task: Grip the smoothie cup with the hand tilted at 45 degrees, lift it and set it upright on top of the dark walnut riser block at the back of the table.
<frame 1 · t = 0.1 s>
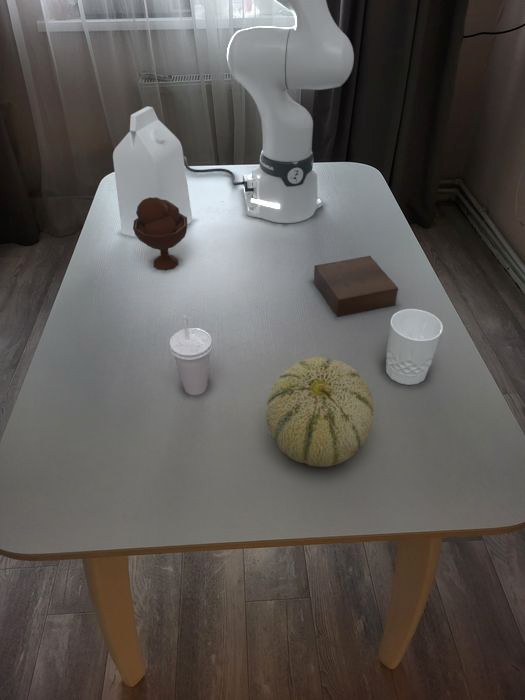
smoothie: (195, 387, 90), on the table
milk: (158, 227, 129), on the table
white cup: (405, 372, 92), on the table
ice cream bowl: (166, 264, 117), on the table
cantaloupe: (315, 446, 81), on the table
riser: (353, 293, 109), on the table
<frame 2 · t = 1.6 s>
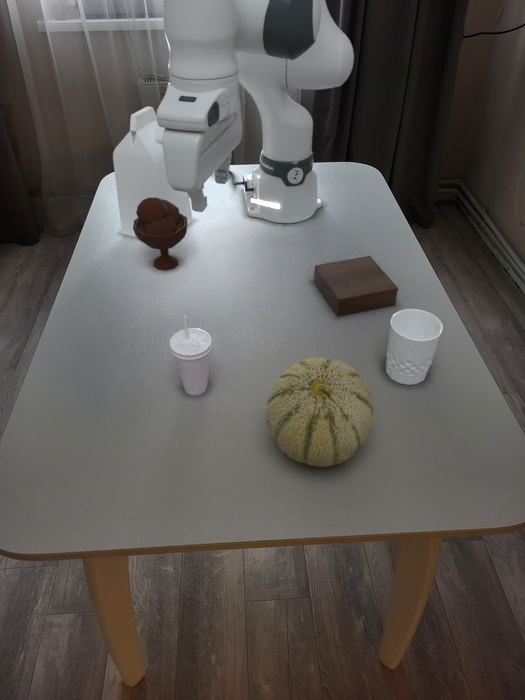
hand: (211, 195, 81), 27 cm above the table, tool pointing down, fingers open, 8 cm apart
nothing on the table moved.
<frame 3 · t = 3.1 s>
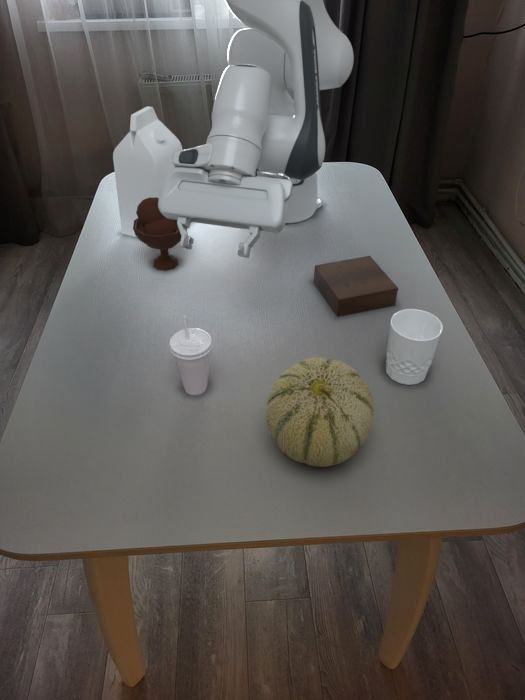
hand: (214, 252, 87), 18 cm above the table, tool tilted 45°, fingers open, 8 cm apart
nothing on the table moved.
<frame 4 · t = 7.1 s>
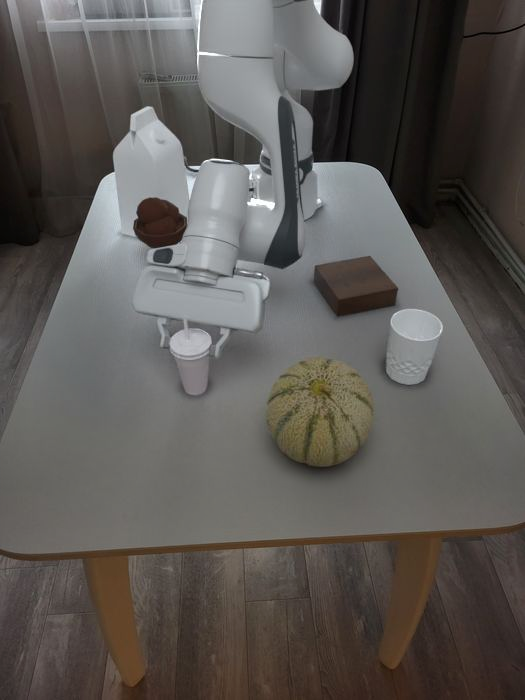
hand: (189, 353, 84), 8 cm above the table, tool tilted 45°, fingers closed on smoothie, 6 cm apart
smoothie: (195, 387, 90), on the table, touching gripper
everything else where it was.
when the fingers open (12 cm above the table, at t = 17.9 s): smoothie stays where it is, resting on riser.
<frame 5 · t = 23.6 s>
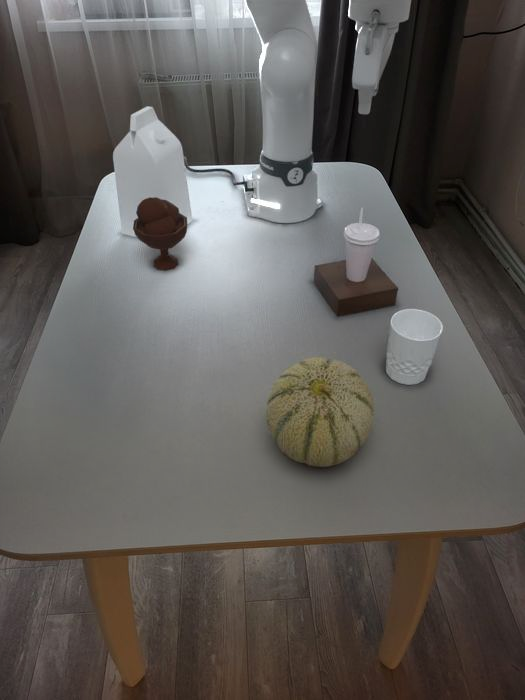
hand: (367, 103, 90), 34 cm above the table, tool pointing down, fingers open, 8 cm apart
smoothie: (356, 277, 106), point 4 cm above the table, touching riser
everything else where it was.
at the end: smoothie inside the target area on the riser (0.1 cm from its centre), point 3.8 cm above the riser's base; smoothie tilted 0° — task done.
